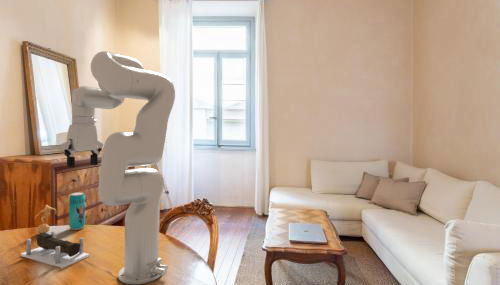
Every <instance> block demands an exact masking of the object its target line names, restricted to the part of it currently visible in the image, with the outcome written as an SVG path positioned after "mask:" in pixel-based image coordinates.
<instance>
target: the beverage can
mask: <svg viewBox="0 0 500 285" xmlns="http://www.w3.org/2000/svg"><path fill="white" fill-rule="evenodd" d="M68 199H69V202H68V204H69V206H68V209H69V210H68V215H69V216H68V217H69V218H68V219H69V220H68V224H69V225H68V226H69V228H70V230H71V231H79V230H82V229H83V228H84V227H85V224H86V195H85V192H83V191H81V192H72V193H70V194H69V198H68Z"/></svg>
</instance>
